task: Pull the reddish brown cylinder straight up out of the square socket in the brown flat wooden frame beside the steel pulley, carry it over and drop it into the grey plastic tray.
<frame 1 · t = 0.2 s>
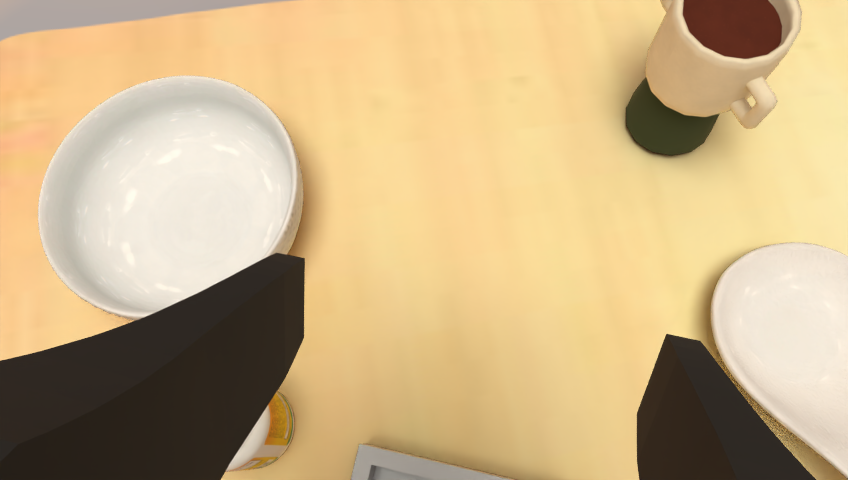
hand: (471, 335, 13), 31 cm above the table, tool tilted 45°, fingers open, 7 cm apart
cereal bowl: (207, 225, 47), on the table
spoon rest: (816, 427, 41), on the table
supplement bottle: (257, 426, 43), on the table
character mug: (664, 123, 48), on the table
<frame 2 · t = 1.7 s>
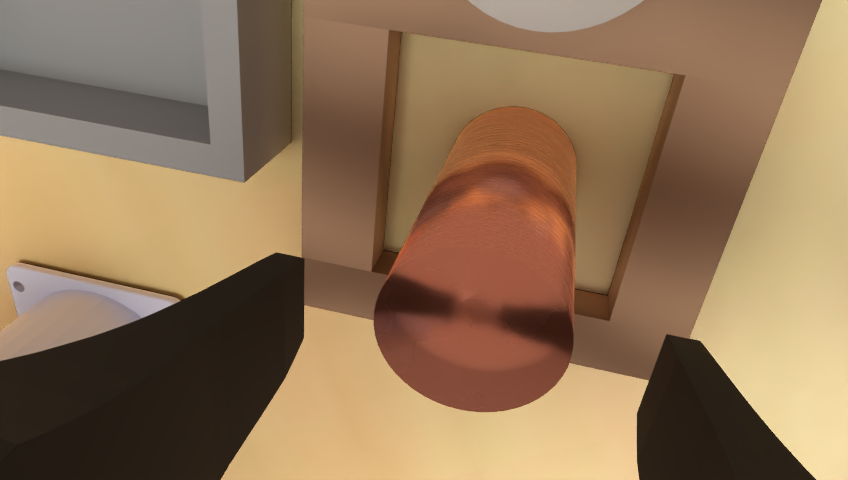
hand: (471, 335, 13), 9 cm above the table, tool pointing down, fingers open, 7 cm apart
brown flat wooden frame: (529, 75, 19), on the table
reddish brown cylinder: (512, 167, 20), resting in brown flat wooden frame
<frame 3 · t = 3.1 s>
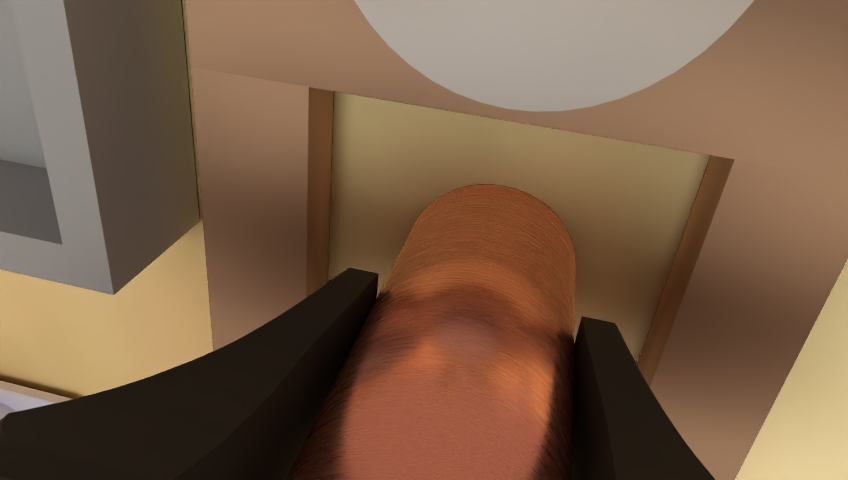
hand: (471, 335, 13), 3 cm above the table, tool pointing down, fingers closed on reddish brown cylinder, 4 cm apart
brown flat wooden frame: (510, 144, 14), on the table
reddish brown cylinder: (489, 261, 15), resting in brown flat wooden frame, touching gripper
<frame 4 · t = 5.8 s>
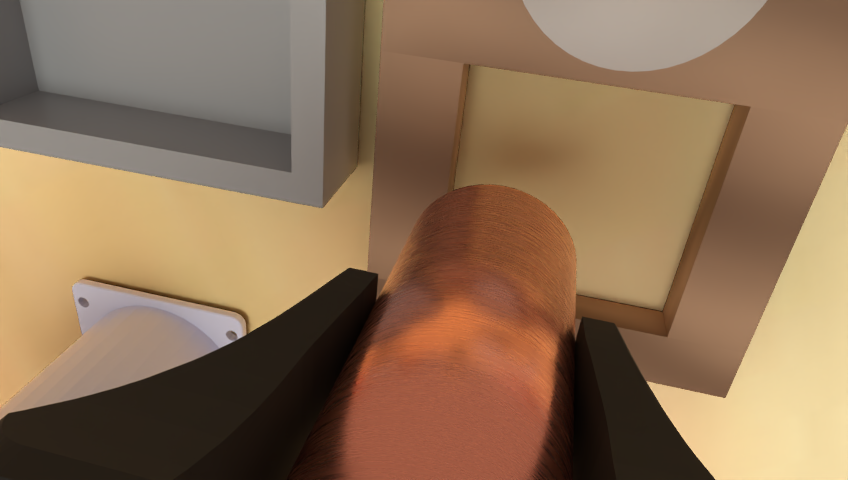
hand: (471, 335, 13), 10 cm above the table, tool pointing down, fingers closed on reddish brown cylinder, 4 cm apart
brown flat wooden frame: (593, 103, 20), on the table
reddish brown cylinder: (490, 261, 15), point 7 cm above the table, touching gripper
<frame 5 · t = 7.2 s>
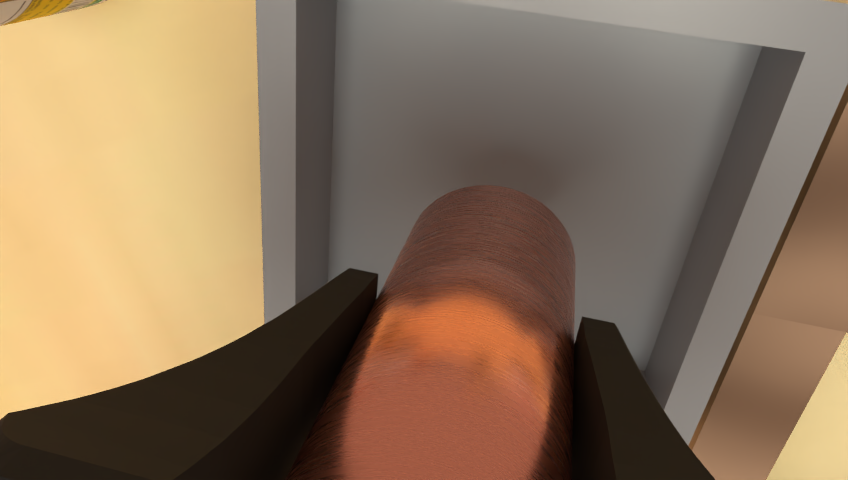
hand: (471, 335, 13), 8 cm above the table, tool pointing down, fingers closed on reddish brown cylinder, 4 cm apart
reddish brown cylinder: (489, 262, 15), point 5 cm above the table, touching gripper
tray: (509, 181, 19), on the table
when the fingers open (4 cm above the table, at t = 8.6 s): reddish brown cylinder stays where it is, resting on tray.
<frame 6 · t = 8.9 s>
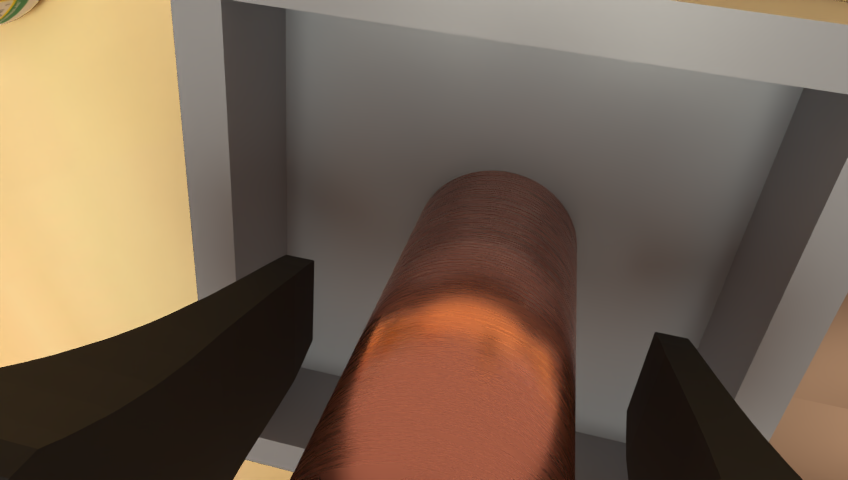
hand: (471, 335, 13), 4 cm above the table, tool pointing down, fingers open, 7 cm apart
reddish brown cylinder: (494, 245, 16), point 1 cm above the table, touching tray
tray: (496, 233, 16), on the table
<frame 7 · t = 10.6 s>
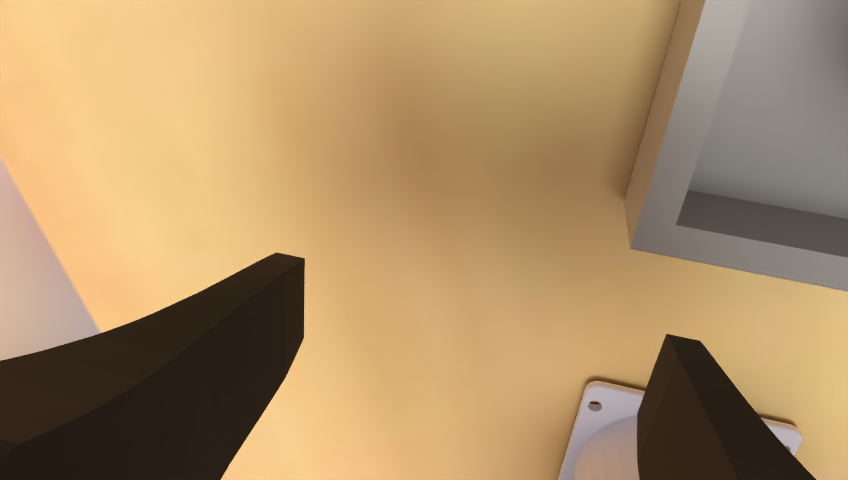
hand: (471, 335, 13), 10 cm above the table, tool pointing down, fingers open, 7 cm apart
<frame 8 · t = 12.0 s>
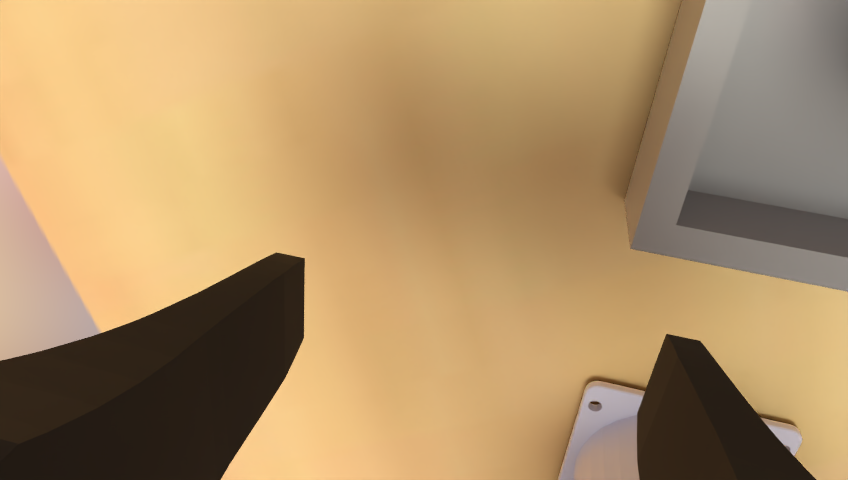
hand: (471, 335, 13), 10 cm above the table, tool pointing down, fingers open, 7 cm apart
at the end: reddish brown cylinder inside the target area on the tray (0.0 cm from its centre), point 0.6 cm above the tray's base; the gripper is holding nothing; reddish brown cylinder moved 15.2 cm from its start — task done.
